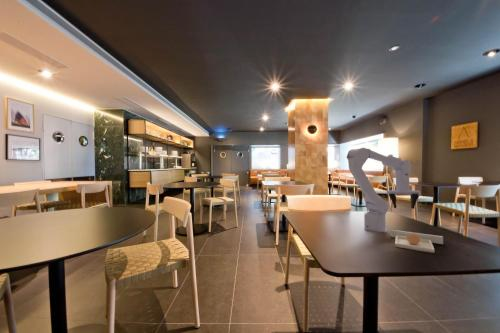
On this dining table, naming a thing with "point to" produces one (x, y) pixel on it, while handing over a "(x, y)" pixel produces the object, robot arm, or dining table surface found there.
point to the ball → (413, 238)
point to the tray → (421, 246)
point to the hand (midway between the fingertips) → (403, 208)
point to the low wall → (422, 236)
